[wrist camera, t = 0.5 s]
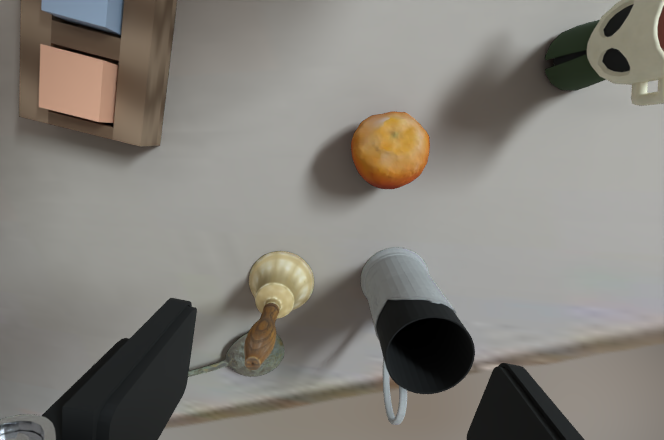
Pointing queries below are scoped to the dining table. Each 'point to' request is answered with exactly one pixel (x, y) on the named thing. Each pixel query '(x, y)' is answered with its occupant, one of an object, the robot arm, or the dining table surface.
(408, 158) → the fruit
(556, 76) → the character mug
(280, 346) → the soupspoon
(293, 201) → the dining table surface
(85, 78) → the terracotta key
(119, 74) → the key panel
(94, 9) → the slate key
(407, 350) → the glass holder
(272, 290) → the hand bell
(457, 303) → the dining table surface
